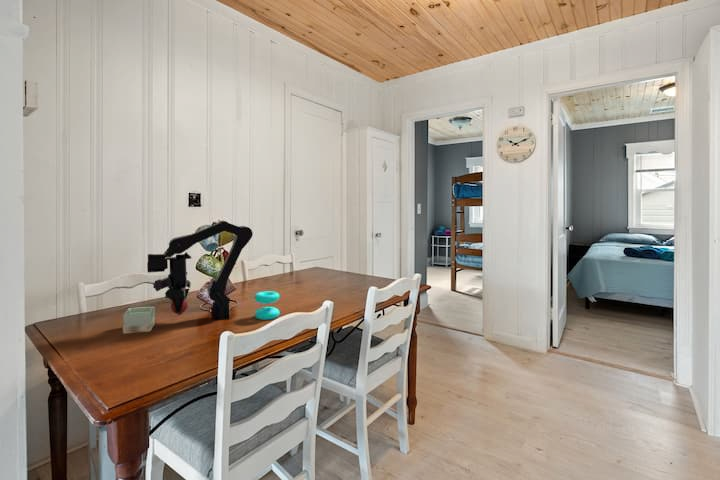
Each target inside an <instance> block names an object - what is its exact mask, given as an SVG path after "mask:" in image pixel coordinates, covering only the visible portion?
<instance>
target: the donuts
mask: <svg viewBox="0 0 720 480" xmlns="http://www.w3.org/2000/svg"><path fill="white" fill-rule="evenodd" d="M279 299H280V293H279V292H276V291H272V290H271V291H267V290H265V291H259V292H257V293H255V295H254V300H255V302H256V303H259V304H265V305H266V304H272V303H275V302H278V301H279ZM254 316H255V318H256V319H258V320H261V321H262V320H263V321H264V320H265V321H268V320H269V321H270V320H274V319H276V318H278V317H279V316H280V310H279V309H278V308H277V307H274V306H263V307H260V308H258V309H257V310H256V311H255V312H254Z"/></svg>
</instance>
